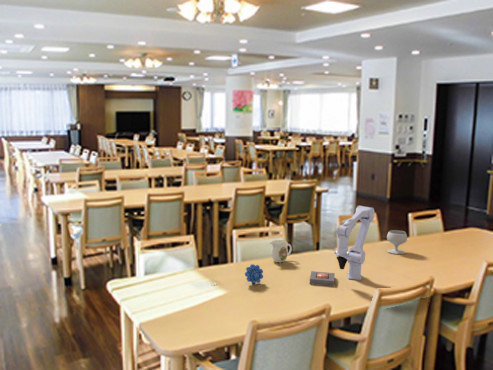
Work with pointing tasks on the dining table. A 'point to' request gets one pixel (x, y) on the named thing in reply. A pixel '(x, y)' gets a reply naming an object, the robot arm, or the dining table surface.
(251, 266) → the grapes
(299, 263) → the dining table surface
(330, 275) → the button housing
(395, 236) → the chalice
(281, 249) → the pitcher
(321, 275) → the button
